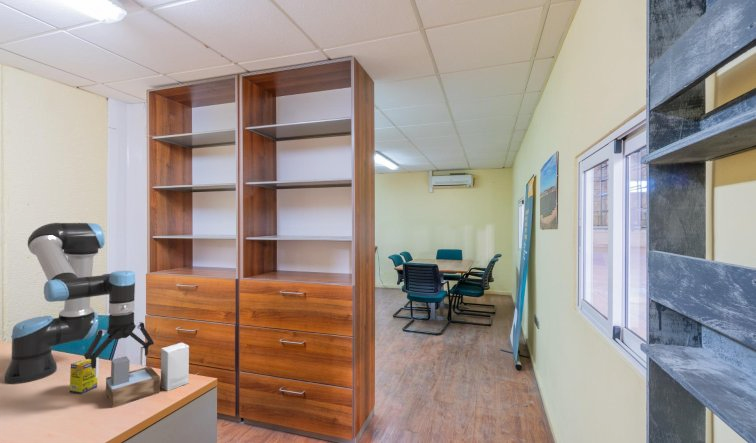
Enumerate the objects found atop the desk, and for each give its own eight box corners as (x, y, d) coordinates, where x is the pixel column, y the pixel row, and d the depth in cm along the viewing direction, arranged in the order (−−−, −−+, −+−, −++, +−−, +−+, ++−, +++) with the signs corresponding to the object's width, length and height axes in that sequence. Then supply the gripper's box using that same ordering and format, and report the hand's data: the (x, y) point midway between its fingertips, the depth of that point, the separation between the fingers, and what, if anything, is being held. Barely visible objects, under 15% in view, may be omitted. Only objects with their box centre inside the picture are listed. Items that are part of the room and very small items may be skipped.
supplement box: (81, 394, 123) (82, 365, 124) (69, 392, 125) (69, 363, 125) (98, 386, 129) (98, 359, 129) (85, 385, 130) (86, 357, 131)
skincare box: (181, 378, 137) (182, 341, 137) (189, 383, 133) (190, 345, 133) (159, 386, 130) (160, 347, 130) (166, 392, 126) (167, 351, 127)
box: (149, 381, 134) (150, 366, 134) (159, 392, 126) (159, 376, 126) (105, 394, 124) (106, 377, 124) (112, 407, 115) (113, 389, 115)
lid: (144, 371, 132) (145, 349, 132) (152, 380, 125) (153, 357, 125) (106, 382, 123) (107, 358, 123) (112, 392, 116) (113, 367, 116)
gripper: (78, 322, 110) (76, 385, 110) (163, 308, 129) (162, 362, 128) (75, 317, 115) (73, 378, 115) (157, 305, 134) (156, 357, 133)
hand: (120, 370), depth 122 cm, fingers open, 13 cm apart
